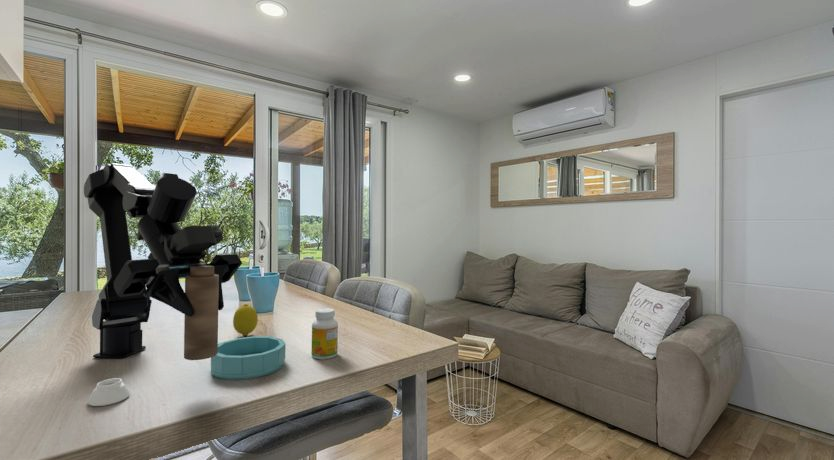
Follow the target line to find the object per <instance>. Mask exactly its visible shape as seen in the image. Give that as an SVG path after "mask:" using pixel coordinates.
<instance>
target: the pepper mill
mask: <svg viewBox="0 0 834 460" xmlns="http://www.w3.org/2000/svg"><path fill="white" fill-rule="evenodd" d="M184 292H185V294H186V296H187V298H188V299H189V301H190V303H191V305H192V307H193V310H194V314H193V315H192V316H191V317H189V316H187V315H185V314H184V320H183V321H184V322H183V323H184V325H183V326H184V327H183V328H184V331H183V333H184V335H183V339H184V340H183V359H184V360H187V361H199V360H206V359H211V357H213V356H215V355H217V354H218V344H219V310H218V298H219V275H216V274H214V266H193V267H190V275H189V276H185V278H184Z"/></svg>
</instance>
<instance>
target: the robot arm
mask: <svg viewBox="0 0 834 460" xmlns="http://www.w3.org/2000/svg"><path fill="white" fill-rule="evenodd" d="M83 195H84V198H85V199H86V198H87V203H88V208H89V209H90V210H91V212H93V213H94V214H95V216H97V217H98V218H99V222H100V232H101V239H102V247H103V256H104V264H105V265H104V266H105V273H106V274H105V275H106V282H105V284H104V286H103V287H102V289H101V290H100V292H99V294H98V299H97V300H96V302H95V307H94V309H93V311H92V314H91V323H92V327H93V328H95V329H97V330H98V331H99V352H98V353H95V354H93V356H92V357H93V359H95V358H96V359H97V358H99V359H102V358H103V359H104V358H105V359H124V358H127V357H129V356H132V355H134V354H136V353H138V352H140V351H143V350H146V348H147V347H146V345H143V329H142V328H141V325H142V323H148V321H149V319H150V311H151V308H152V307H151V306H152V302H153V301H152V299H154V300H157V301H159V302H161V303H163V304H165V305H167V306H169V307H170V308H173V309H175V310H176V311H178V312H179V313H181V314H183V315H184V316H185V315H187V316H189V317H191V316H192V315H193V314H194V310H193V307H192V305H191V303H190V301H189V299H188V298H187V296H186V294H185V289H183V286H182V285H181V283H180V279H181V280H182V279H185V276H189V275H190V267H193V266H214V274H216V275H219V298H218V311H222V310H223V308H224V307H225V305H224V295H223V288H222V284H224V283H227V282H228V281H229V282H230V280H231V279H232V277H234V275H235V274H236V272H237V271H238V269H239V268H240V267H241V265H242V264H243V262H242V260H241V258H240V257H239V256H238V254H237V253H225V254H224V253H221V254H215V255H214V257H213V258H212V260H210V262H209V263H206V262H201V260H204V259H205V257H206V256H207V253H206V250H208V249H210V248H212V247H214V246H217V244H219V243H221V242H222V241H223V239H224V235H223V232H222V230H221V229H220V228H219V227H218V225H217V224H208V225H187V226H184V227H183V228H181V226H180V225H179V223H180V222H184V221H185V220H186V218H187V215H188V213H189V212H190V209H191V207H192V205H193V202H194V200H195V198H196V196H197V189H196V187H195V186H194V185H192V184H191V183H190V182H188V181H187V180H185V179H182V178H180V177H179V176H178V174H177V173H171V172H170V173H168V172H164V173H163V175H162V177H161V178H159V179H158V180H157V182H156V184H152V183H151V182H149V181H148V179H146V178H145V177H144V176H143V175H141V173H140V172H139V171H138V169H137V167H136V166H133V164H132V165H131V164H123V163H115V162H110V163H106V164H105V165H104V166H103V168H102V169H98V170H97V171H95V172H92V173H89V174H88V176H87V178H86V179H85V182H84V184H83ZM127 215H128V217H129V218H130V219H131V218H132V219H133V218H134V219H139V221H138V222H137V227H136V228H137V230H138V231H137V234H136V237H137V238H136V239H137V240H138V241H144V242H145V244H146V246H147V248H148V250H149V252H150V253H149V254H148V256H147V258H144V259H133V258H132V249H131V242H130V235H129V228H128V220H127ZM151 298H152V299H151Z"/></svg>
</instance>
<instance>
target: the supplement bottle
mask: <svg viewBox="0 0 834 460" xmlns="http://www.w3.org/2000/svg"><path fill="white" fill-rule="evenodd" d="M335 313H336V311H335V309H334V308H328V307H325V308H319V309H316V310H315V318H316V319H315V320H313V321H312V323H311V357H312V358H313V359H316V360H330V359H333V358H335V357H336V356H337V355H338V347H339V346H338V345H339V344H338V342H339V341H338V338H339V330H338V328H339V327H338V326H339V323H338V320H336V319H335V318H334V317H335V315H336V314H335Z"/></svg>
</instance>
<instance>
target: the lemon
mask: <svg viewBox="0 0 834 460" xmlns="http://www.w3.org/2000/svg"><path fill="white" fill-rule="evenodd" d="M232 324H233V328H234V330H235V331H236V332H237V333H239V334H241V335H242V336H243V337H248V335H249V334H250V333H252V332H253V331H255V329H256V327H257V326H258V312H257V311H256V308H254V307H253V306H251V305H249V304H248V303H244V304H243V305H241V306H240V307H238V308H237V309H235V312H234V315H233V319H232Z"/></svg>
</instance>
